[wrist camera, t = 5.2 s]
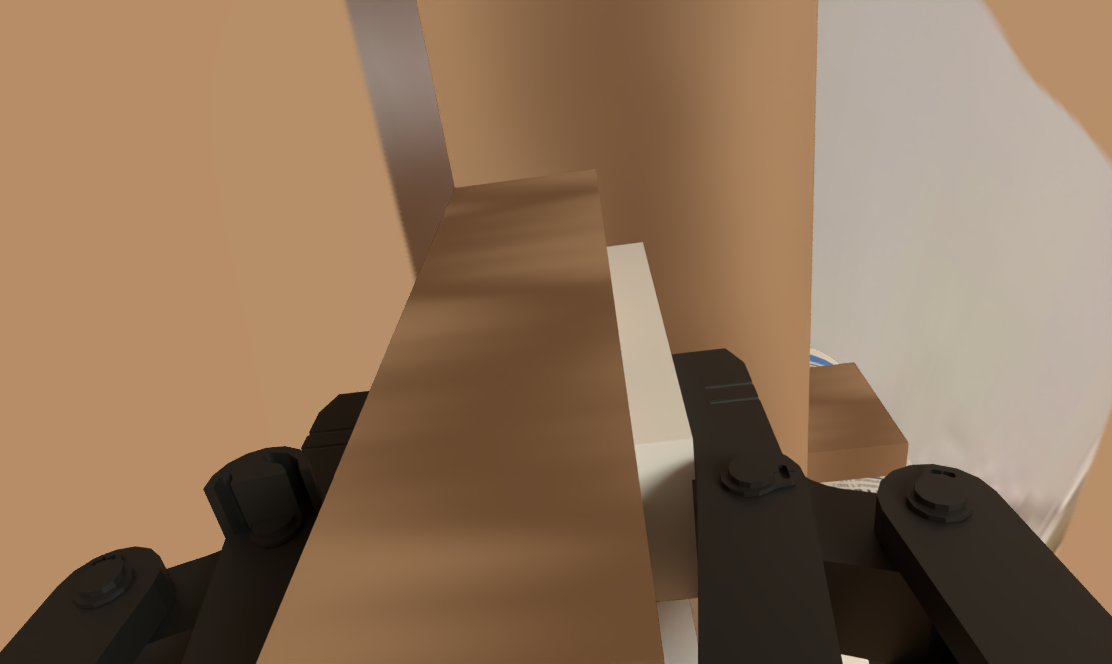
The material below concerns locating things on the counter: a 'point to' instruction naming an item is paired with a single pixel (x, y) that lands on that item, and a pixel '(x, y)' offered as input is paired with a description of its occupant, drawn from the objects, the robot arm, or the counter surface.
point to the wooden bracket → (574, 329)
